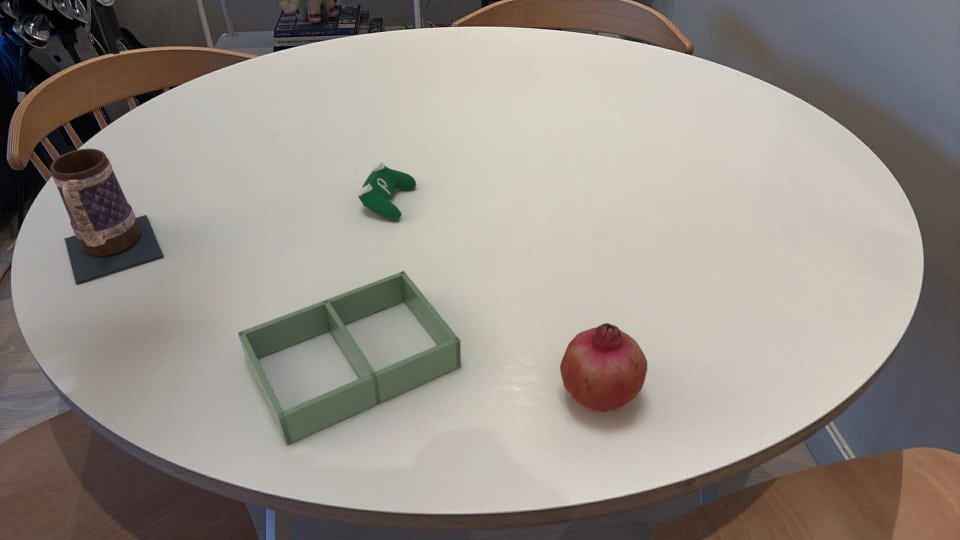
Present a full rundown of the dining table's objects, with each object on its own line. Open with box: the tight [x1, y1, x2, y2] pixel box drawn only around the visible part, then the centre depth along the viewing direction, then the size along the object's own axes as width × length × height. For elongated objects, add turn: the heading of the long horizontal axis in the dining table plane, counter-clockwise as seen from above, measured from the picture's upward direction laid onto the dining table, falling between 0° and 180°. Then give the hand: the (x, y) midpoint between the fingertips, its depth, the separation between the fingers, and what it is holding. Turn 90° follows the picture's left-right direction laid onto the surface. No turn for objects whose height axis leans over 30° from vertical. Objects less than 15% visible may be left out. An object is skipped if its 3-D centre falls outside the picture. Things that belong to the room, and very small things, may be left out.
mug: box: [49, 148, 140, 256], centre depth 83 cm, size 10×7×12 cm
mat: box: [64, 214, 165, 285], centre depth 88 cm, size 10×10×1 cm
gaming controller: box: [358, 162, 417, 221], centre depth 95 cm, size 9×4×6 cm
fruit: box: [559, 322, 648, 414], centre depth 66 cm, size 8×8×10 cm
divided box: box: [237, 270, 462, 446], centre depth 72 cm, size 19×13×4 cm
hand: (51, 61), depth 58 cm, fingers open, 9 cm apart
